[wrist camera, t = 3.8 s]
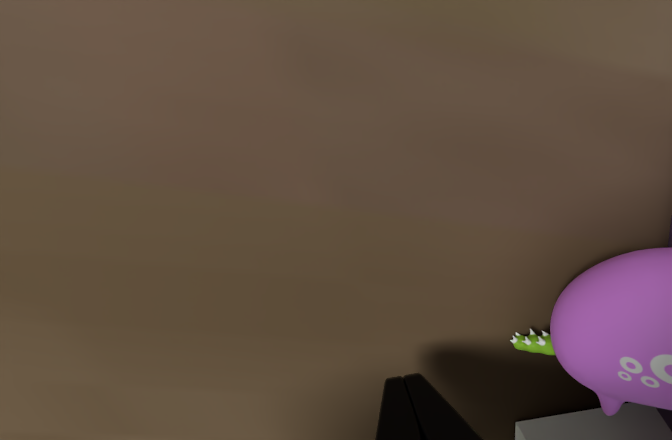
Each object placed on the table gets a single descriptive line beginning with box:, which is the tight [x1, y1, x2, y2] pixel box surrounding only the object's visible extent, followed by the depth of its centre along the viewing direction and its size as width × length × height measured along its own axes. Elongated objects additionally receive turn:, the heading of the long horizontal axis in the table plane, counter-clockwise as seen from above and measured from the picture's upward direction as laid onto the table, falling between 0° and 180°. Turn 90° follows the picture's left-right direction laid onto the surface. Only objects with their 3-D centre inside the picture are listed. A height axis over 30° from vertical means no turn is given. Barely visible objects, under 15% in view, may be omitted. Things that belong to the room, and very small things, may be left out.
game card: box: [510, 217, 672, 431], centre depth 6 cm, size 7×5×9 cm
